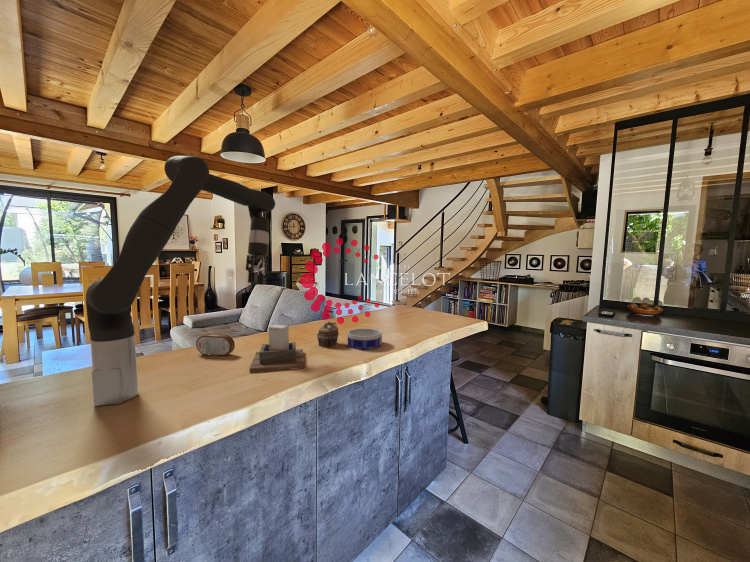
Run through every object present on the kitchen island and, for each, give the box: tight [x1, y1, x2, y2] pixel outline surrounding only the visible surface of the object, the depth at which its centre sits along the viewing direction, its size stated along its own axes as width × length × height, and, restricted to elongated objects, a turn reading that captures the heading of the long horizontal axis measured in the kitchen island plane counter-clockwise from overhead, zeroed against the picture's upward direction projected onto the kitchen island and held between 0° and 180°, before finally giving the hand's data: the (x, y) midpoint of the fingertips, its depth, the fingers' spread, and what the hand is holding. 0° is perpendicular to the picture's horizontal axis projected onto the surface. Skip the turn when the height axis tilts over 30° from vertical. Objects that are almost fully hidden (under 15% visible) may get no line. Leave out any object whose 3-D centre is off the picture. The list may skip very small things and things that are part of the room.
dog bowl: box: [347, 327, 383, 351], centre depth 137 cm, size 15×15×6 cm
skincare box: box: [268, 324, 290, 351], centre depth 115 cm, size 6×4×12 cm
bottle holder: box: [249, 341, 305, 373], centre depth 115 cm, size 18×18×6 cm
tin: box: [195, 333, 236, 356], centre depth 122 cm, size 15×3×8 cm, turn 84°
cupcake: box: [316, 321, 340, 348], centre depth 137 cm, size 10×10×10 cm
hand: (255, 283), depth 121 cm, fingers open, 8 cm apart
